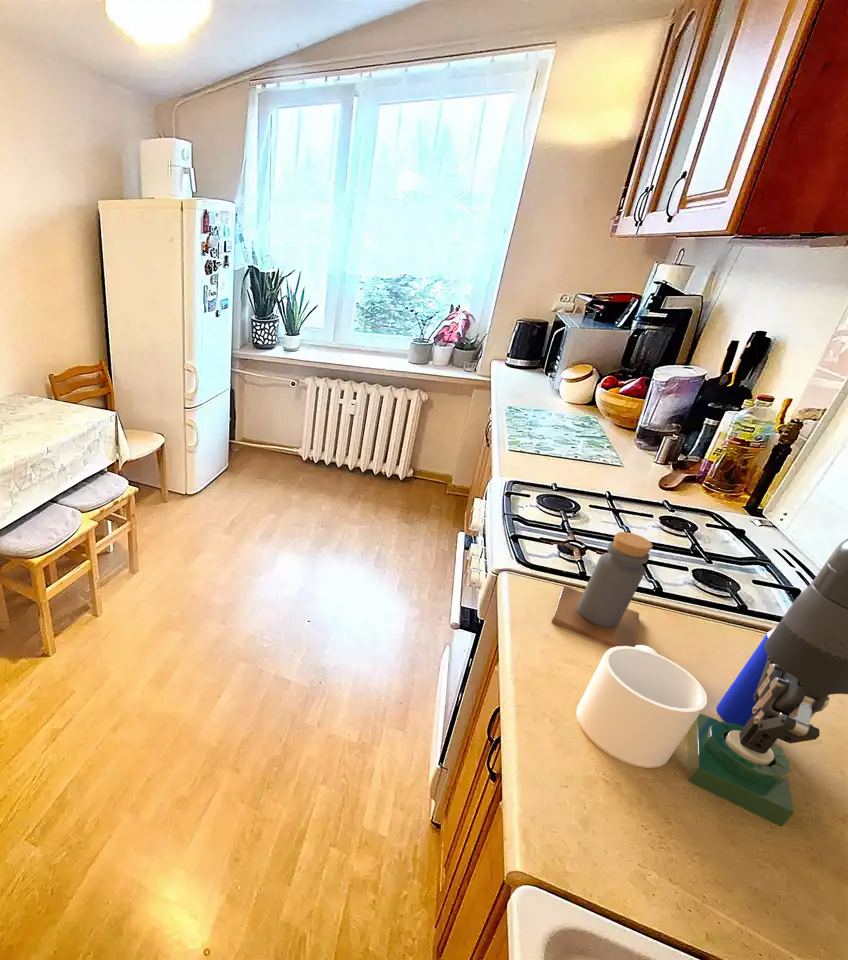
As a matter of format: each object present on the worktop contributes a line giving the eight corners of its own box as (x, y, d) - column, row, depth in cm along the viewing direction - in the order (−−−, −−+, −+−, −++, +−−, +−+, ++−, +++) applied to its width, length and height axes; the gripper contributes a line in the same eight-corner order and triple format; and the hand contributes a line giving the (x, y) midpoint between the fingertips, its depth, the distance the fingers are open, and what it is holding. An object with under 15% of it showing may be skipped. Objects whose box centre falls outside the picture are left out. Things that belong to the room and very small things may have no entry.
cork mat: (637, 617, 87) (639, 612, 87) (632, 655, 80) (635, 650, 79) (561, 589, 93) (563, 585, 93) (551, 622, 86) (553, 617, 85)
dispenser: (687, 725, 69) (703, 701, 67) (770, 761, 64) (790, 738, 62) (688, 781, 62) (706, 757, 60) (781, 827, 57) (803, 802, 55)
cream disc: (719, 734, 64) (727, 723, 63) (763, 754, 62) (772, 743, 61) (721, 758, 61) (729, 746, 60) (767, 779, 59) (776, 767, 58)
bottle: (584, 623, 84) (620, 547, 77) (571, 600, 89) (604, 527, 82) (625, 630, 83) (665, 553, 76) (610, 606, 88) (646, 532, 81)
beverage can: (759, 717, 70) (821, 634, 63) (771, 747, 66) (840, 662, 59) (709, 700, 72) (765, 618, 65) (719, 728, 68) (779, 644, 61)
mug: (673, 785, 61) (714, 727, 57) (574, 741, 66) (604, 684, 61) (663, 710, 71) (697, 655, 66) (576, 677, 76) (602, 623, 71)
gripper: (913, 695, 46) (805, 810, 54) (874, 617, 55) (787, 725, 63) (795, 653, 50) (710, 766, 58) (777, 587, 59) (706, 692, 67)
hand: (750, 744), depth 61 cm, fingers closed
